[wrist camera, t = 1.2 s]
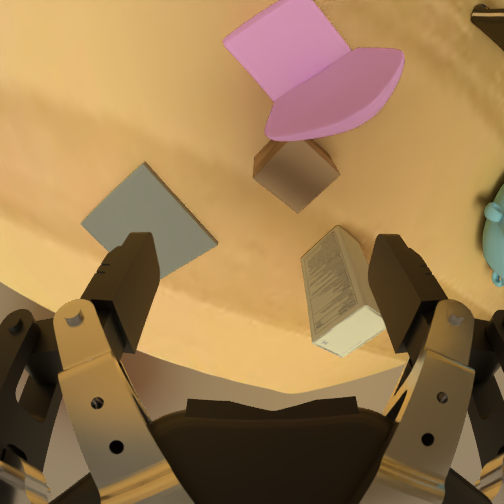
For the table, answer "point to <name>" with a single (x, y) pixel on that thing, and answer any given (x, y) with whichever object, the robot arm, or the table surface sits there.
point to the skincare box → (340, 294)
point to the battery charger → (490, 22)
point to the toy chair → (312, 71)
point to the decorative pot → (495, 237)
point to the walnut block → (294, 171)
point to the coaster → (149, 220)
